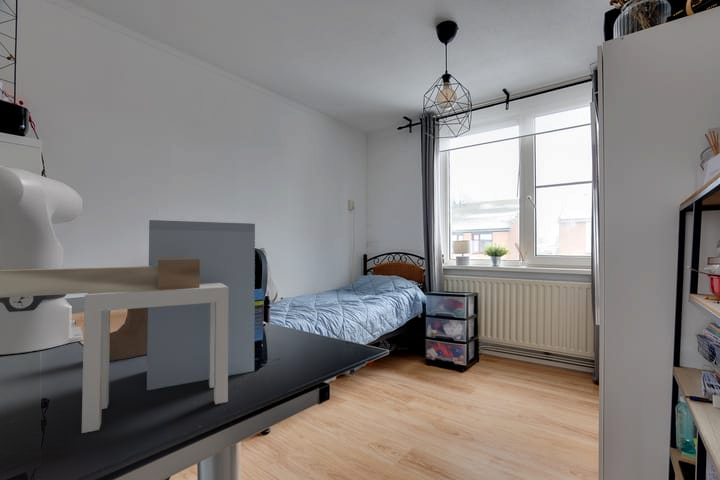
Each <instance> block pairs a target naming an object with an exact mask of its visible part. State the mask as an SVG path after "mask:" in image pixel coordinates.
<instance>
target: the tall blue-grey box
mask: <svg viewBox="0 0 720 480" xmlns="http://www.w3.org/2000/svg"><path fill="white" fill-rule="evenodd" d="M148 228H149V229H148V266H158V260H159V259H200V284H205V283H222V284H224V285H226V286H227V287H229V296H228V377H229V376H235V375H240V374H246V373H252V372H255V342H254V323H255V290H256V289H255V288H256V287H255V284H256V282H255V280H256V275H255V272H256V271H255V270H256V264H255V263H256V261H255V260H256V257H255V256H256V248H255V247H256V241H255V240H256V224H255V223H250V222H249V223H245V222H243V223H242V222H218V221H215V222H214V221H193V220H192V221H189V220H188V221H187V220H161V219H160V220H159V219H149V220H148ZM209 308H210V303H200V304H186V305H173V306H160V307H148V342H147V355H146V357H147V359H146V361H147V362H146V391H151V390H157V389H161V388H167V387H172V386H179V385H183V384H190V383H196V382H201V381H207V380H209Z"/></svg>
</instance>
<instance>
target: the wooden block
mask: <svg viewBox="0 0 720 480" xmlns="http://www.w3.org/2000/svg"><path fill="white" fill-rule="evenodd" d="M148 266H149V265H147V266H143V265H141V266H140V267H148ZM126 310H127V314H126V317H125V321H124V323H123V324H122V325H121V326H120V327H119V328H118V329H117V330H115V331H112V332H111V331H110V355H109V363H110V362H115V361H119V360H125V359H130V358H135V357H136V358H137V357H141V356H145V355H146V356H147V342H148V307H147V308H133V309H126Z"/></svg>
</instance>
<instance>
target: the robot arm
mask: <svg viewBox="0 0 720 480" xmlns="http://www.w3.org/2000/svg"><path fill="white" fill-rule="evenodd" d="M83 205H84V204H83V199H82V196H81V195H80V194H79V193H78V192H77V191H76V190H75V189H73V188H72V187H70V186H69V185H67V183H63V182H61V181H59V180H56V179H54V178H53V179H52V178H51V177H47V176H43V175H41V174H37V173H35V172H31V171H28V170H26V169H22V168H18V167H9V166H4V165H0V270H22V269H64V265H65V249H64V247H63V245H62V243H60V241H59V240H58V238H57V236H56V233H55V231H54V227H53V225H57V224H58V225H59V224H63V223H64V224H65V223H67V222H68V223H69V222H71V221H73V220H75V219H76V218H77V217H79V215H81V212H82V211H83V207H84V206H83ZM66 296H67V294H60V295H41V296H22V297H3V298H0V355H11V354H20V353H28V352H29V353H30V352H33V351H34V352H35V351H40V350H46V349H50V348H51V349H52V348H55V347H58V346H63V345H66V344H70V343H76V342H81V341H84V333H83V330H82V327H81V326H76V325H77V321H76V320H74V319H73V320H72V315H73V314H72V312H73V311H72V309H73V307H72V305H71V304H70V303H69V302H68V301H67V299H66Z"/></svg>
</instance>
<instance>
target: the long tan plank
mask: <svg viewBox="0 0 720 480" xmlns="http://www.w3.org/2000/svg"><path fill="white" fill-rule="evenodd" d="M147 266H148V267H141V266H115V267H114V266H113V267H112V266H111V267H110V266H109V267H84V268H83V267H77V268H76V267H74V268H72V267H70V268H69V267H68V268H67V267H66V268H64V269H22V270H0V298H3V297H22V296H41V295H60V294H66V295H74V294H88V293H97V292H116V291H135V290H154V289H158V290H167V289H185V288H200V259H159V260H158V266H149V265H147Z"/></svg>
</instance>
